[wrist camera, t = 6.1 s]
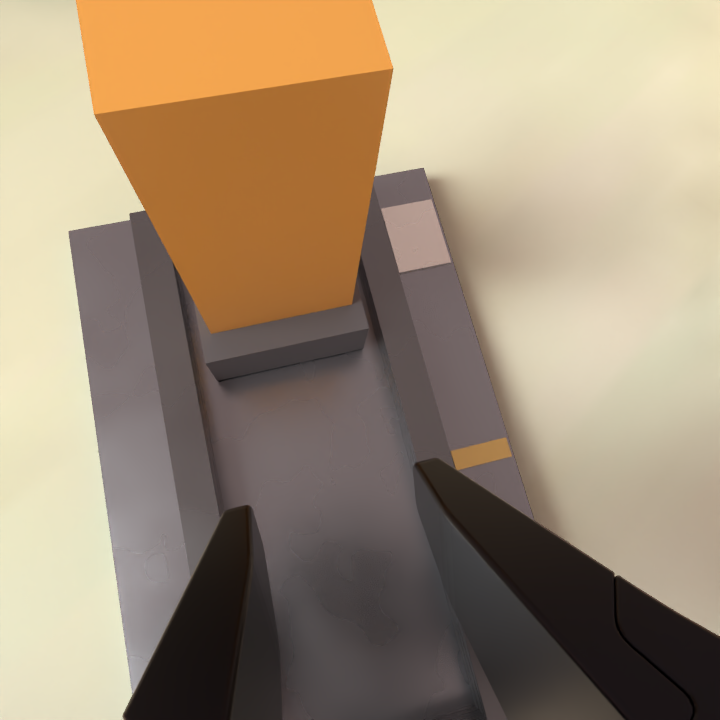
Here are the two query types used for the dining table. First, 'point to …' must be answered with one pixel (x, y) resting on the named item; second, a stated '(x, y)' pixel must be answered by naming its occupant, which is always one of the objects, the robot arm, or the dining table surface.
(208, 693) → the robot arm
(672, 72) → the dining table surface
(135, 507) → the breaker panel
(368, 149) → the breaker toggle
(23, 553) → the dining table surface
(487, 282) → the dining table surface
